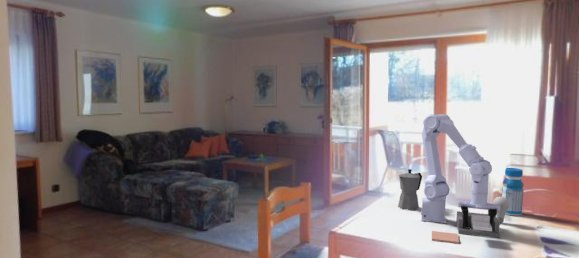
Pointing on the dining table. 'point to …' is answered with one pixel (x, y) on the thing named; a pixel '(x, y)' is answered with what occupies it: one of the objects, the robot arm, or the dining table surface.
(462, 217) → the socket block
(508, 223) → the dining table surface
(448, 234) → the mat
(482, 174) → the robot arm
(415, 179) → the coffeepot
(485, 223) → the clip
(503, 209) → the lightbulb
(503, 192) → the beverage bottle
